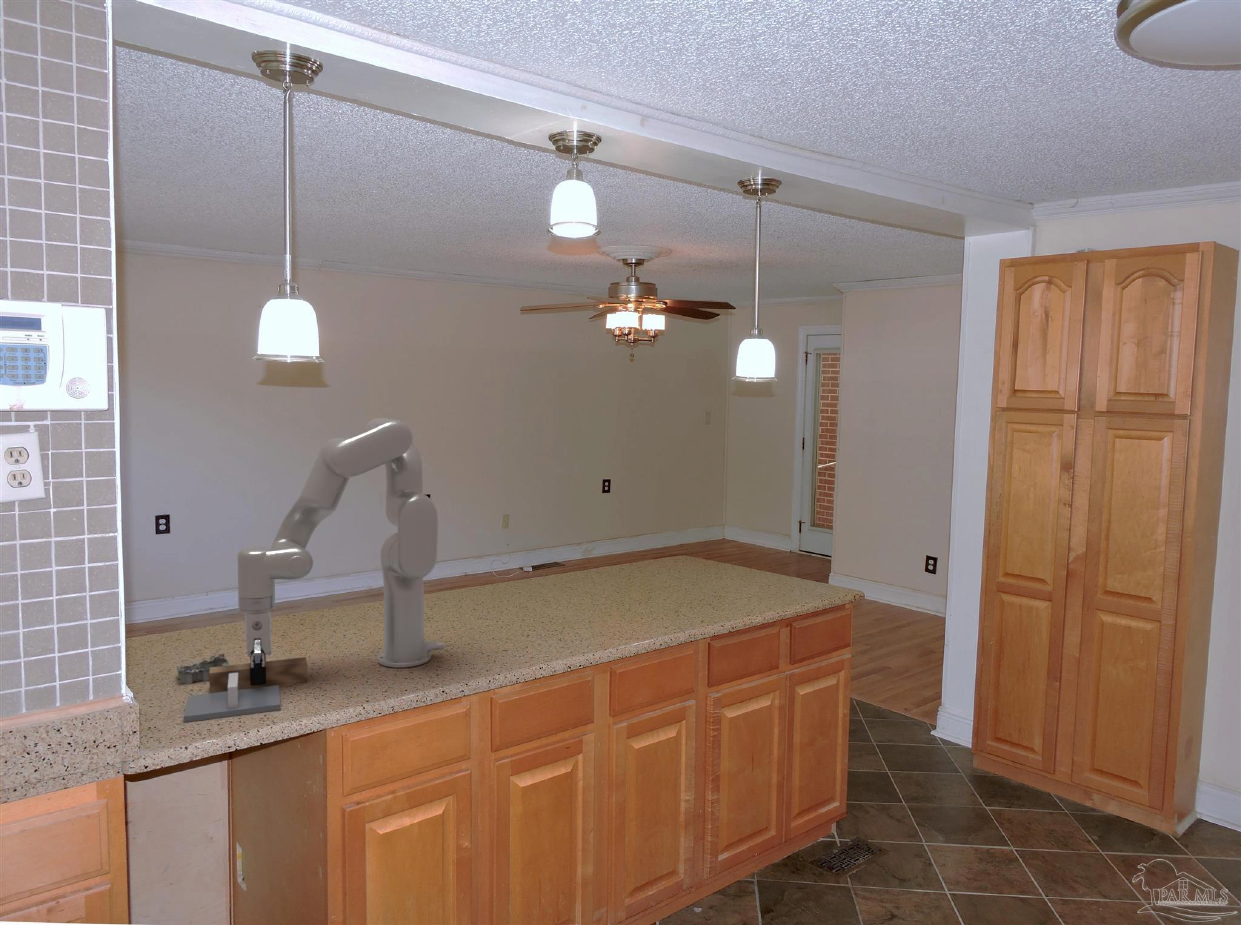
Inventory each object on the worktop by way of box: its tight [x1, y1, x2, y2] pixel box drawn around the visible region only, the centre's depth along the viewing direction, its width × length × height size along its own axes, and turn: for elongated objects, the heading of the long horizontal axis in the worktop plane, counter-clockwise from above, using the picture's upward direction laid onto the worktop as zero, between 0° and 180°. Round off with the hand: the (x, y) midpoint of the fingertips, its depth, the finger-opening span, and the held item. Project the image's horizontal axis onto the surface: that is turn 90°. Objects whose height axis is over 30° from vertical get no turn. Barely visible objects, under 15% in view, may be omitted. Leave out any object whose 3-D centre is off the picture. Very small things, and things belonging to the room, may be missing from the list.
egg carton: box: [176, 653, 230, 685], centre depth 196 cm, size 11×8×4 cm
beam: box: [208, 656, 308, 693], centre depth 190 cm, size 20×4×5 cm, turn 113°
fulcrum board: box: [183, 673, 281, 723], centre depth 178 cm, size 18×12×6 cm, turn 113°
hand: (258, 677), depth 190 cm, fingers open, 9 cm apart
